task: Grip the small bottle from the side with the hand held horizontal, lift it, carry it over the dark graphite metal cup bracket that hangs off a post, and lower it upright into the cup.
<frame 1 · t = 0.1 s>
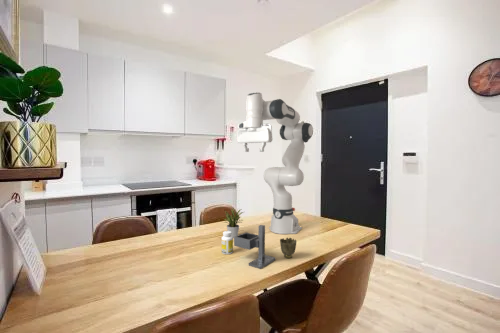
hand: (254, 151, 138), 48 cm above the table, tool pointing down, fingers open, 8 cm apart
house plant: (235, 236, 153), on the table
supplement bottle: (227, 252, 128), on the table
cup bracket: (247, 258, 121), on the table
cup: (288, 257, 122), on the table
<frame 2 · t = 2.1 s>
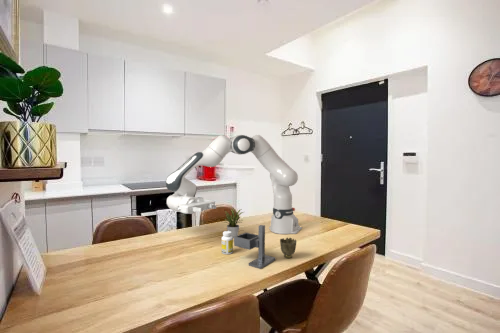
hand: (208, 208, 134), 20 cm above the table, tool horizontal, fingers open, 8 cm apart
nothing on the table moved.
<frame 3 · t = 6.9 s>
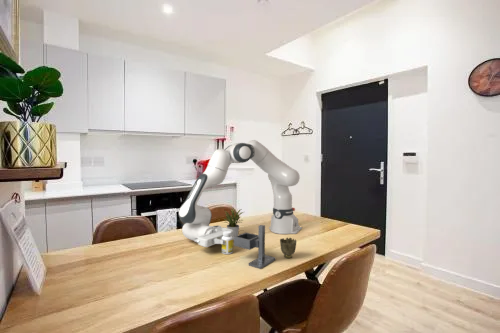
hand: (228, 240, 127), 6 cm above the table, tool horizontal, fingers closed on supplement bottle, 5 cm apart
supplement bottle: (227, 252, 128), on the table, touching gripper
everything else where it was.
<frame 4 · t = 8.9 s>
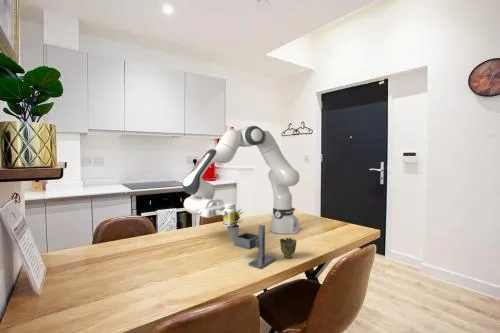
hand: (230, 211, 126), 20 cm above the table, tool horizontal, fingers closed on supplement bottle, 5 cm apart
supplement bottle: (228, 225, 127), point 13 cm above the table, touching gripper
everything else where it was.
when the fingers open (14 cm above the table, at t = 11.4 s): supplement bottle stays where it is, resting on cup bracket.
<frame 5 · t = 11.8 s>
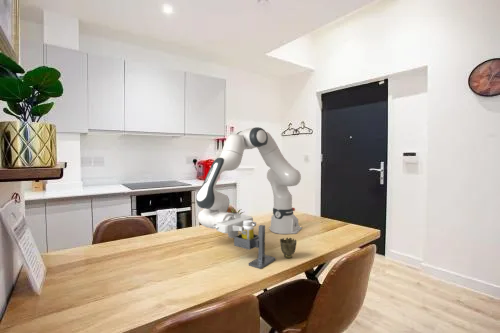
hand: (249, 226, 120), 14 cm above the table, tool horizontal, fingers open, 8 cm apart
supplement bottle: (247, 243, 121), point 7 cm above the table, touching cup bracket
everything else where it was.
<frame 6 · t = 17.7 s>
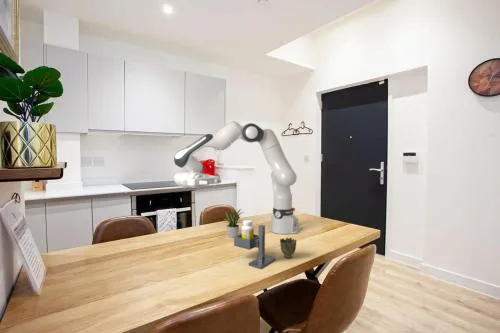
hand: (214, 181, 142), 32 cm above the table, tool horizontal, fingers open, 8 cm apart
nothing on the table moved.
at the end: supplement bottle 0.0 cm off-centre on the cup bracket, point 6.8 cm above the cup bracket's base; supplement bottle tilted 0°; the gripper is holding nothing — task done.
